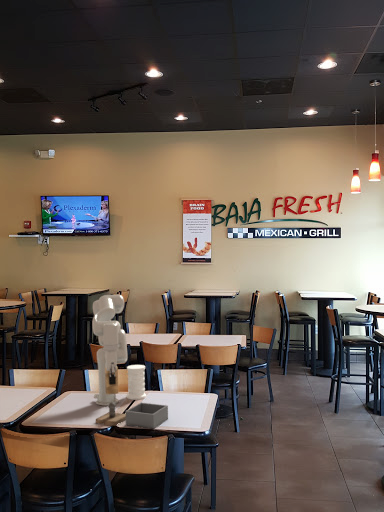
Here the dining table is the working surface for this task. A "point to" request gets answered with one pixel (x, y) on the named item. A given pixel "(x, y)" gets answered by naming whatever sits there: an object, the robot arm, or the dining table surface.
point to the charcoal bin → (147, 415)
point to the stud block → (111, 416)
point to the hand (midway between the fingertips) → (111, 382)
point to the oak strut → (109, 388)
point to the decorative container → (136, 382)
